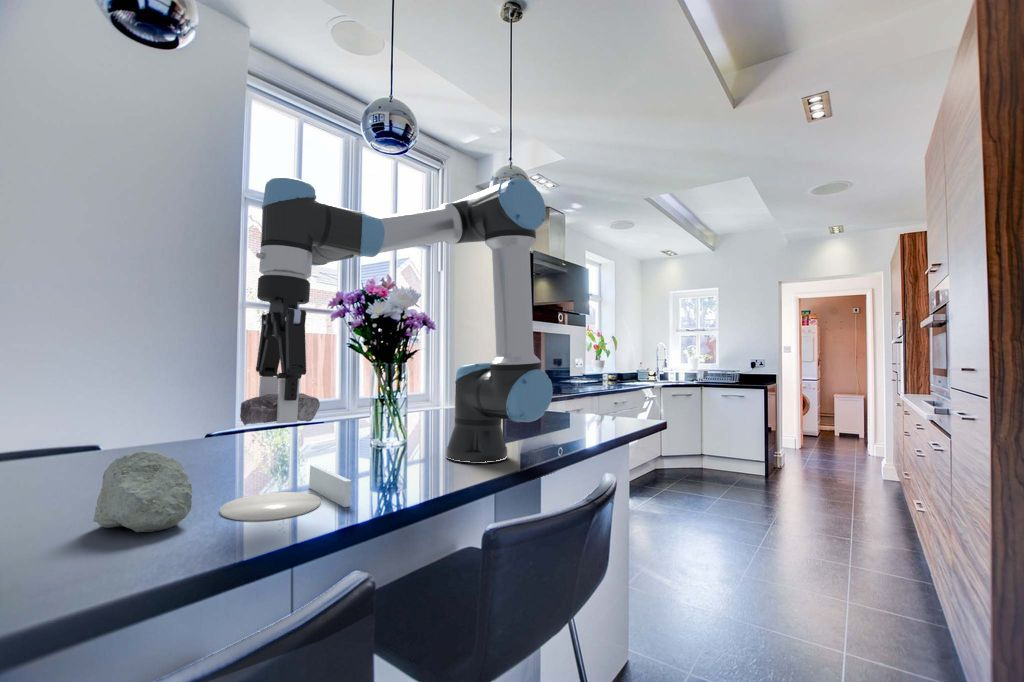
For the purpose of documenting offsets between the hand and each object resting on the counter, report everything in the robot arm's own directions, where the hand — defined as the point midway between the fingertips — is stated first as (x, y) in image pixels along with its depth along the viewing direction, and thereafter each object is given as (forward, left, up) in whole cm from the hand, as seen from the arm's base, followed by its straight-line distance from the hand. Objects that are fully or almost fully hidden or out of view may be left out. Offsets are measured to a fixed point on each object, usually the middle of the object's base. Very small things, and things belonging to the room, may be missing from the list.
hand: (276, 419), depth 75 cm
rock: (0, 0, -1) cm, 1 cm away
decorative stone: (+16, -1, -14) cm, 21 cm away
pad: (0, 0, -13) cm, 13 cm away
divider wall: (-9, 0, -13) cm, 16 cm away
